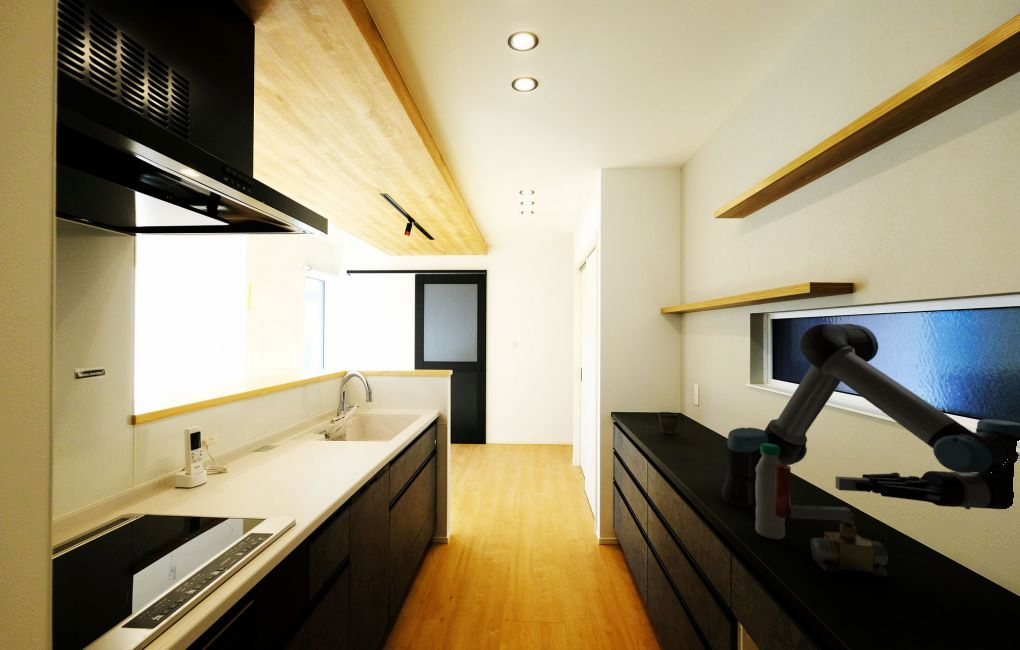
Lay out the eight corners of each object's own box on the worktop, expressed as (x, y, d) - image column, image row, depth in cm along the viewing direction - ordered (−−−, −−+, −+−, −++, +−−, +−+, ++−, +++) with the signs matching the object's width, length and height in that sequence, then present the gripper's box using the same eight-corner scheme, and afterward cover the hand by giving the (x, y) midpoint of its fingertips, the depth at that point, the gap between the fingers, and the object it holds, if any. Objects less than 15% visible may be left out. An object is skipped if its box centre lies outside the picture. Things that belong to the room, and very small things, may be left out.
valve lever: (848, 522, 104) (848, 466, 104) (857, 528, 100) (857, 470, 100) (772, 519, 105) (772, 464, 105) (779, 525, 102) (779, 468, 102)
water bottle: (778, 529, 121) (778, 442, 121) (789, 541, 114) (789, 449, 114) (751, 527, 123) (751, 440, 123) (760, 539, 116) (760, 447, 116)
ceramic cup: (655, 432, 232) (655, 414, 232) (662, 428, 240) (662, 411, 240) (679, 436, 224) (679, 417, 224) (685, 432, 231) (685, 414, 231)
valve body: (823, 572, 100) (823, 530, 100) (809, 558, 106) (809, 518, 106) (889, 577, 98) (889, 534, 98) (871, 563, 104) (871, 522, 104)
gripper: (979, 518, 89) (855, 511, 93) (928, 494, 102) (821, 488, 106) (979, 483, 90) (855, 476, 93) (928, 463, 102) (821, 458, 106)
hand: (837, 483), depth 100 cm, fingers closed
